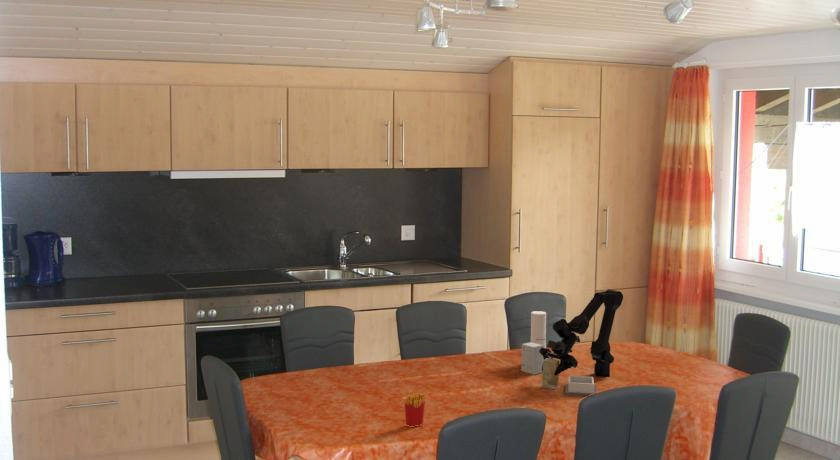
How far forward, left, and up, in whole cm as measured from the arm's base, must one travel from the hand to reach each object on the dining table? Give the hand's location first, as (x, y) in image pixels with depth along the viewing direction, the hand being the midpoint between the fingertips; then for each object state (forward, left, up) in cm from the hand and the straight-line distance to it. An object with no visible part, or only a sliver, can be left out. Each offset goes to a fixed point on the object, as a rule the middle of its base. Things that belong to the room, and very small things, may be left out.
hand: (548, 373), depth 356 cm
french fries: (+48, +56, -7) cm, 74 cm away
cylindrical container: (+6, -37, -7) cm, 38 cm away
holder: (-14, +2, -7) cm, 16 cm away
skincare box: (-1, -1, -7) cm, 7 cm away
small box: (+8, -23, -7) cm, 25 cm away
